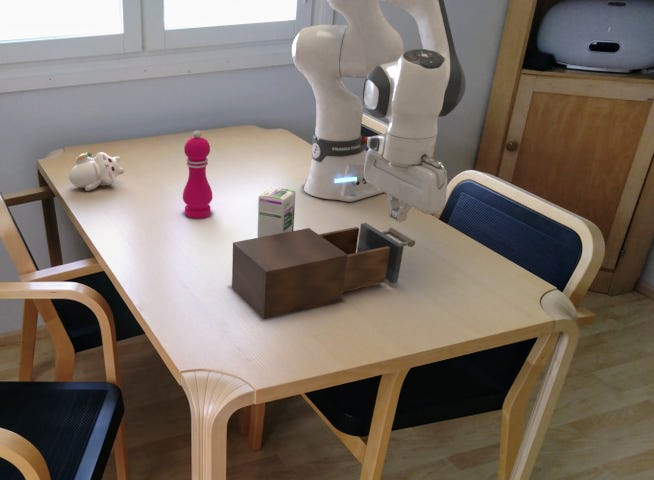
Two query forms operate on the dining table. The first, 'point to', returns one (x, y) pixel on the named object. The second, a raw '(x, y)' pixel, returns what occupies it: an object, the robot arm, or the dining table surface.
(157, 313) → the dining table surface
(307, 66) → the robot arm
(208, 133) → the dining table surface
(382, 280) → the drawer
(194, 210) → the pepper mill
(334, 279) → the cabinet
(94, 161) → the cat figurine
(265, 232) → the syrup box
